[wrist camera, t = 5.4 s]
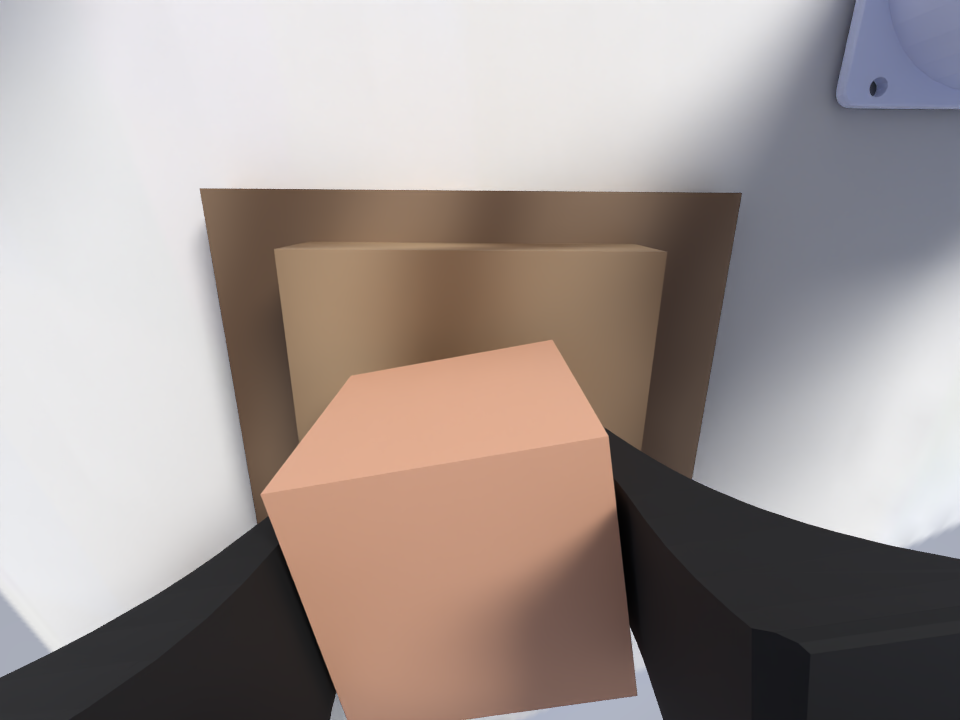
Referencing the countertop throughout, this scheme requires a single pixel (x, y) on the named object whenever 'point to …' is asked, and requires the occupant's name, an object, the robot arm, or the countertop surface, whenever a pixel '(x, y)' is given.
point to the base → (467, 219)
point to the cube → (459, 540)
